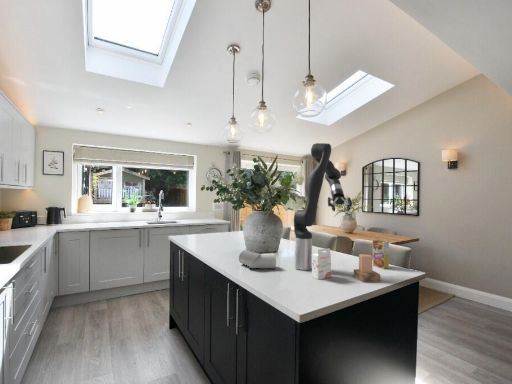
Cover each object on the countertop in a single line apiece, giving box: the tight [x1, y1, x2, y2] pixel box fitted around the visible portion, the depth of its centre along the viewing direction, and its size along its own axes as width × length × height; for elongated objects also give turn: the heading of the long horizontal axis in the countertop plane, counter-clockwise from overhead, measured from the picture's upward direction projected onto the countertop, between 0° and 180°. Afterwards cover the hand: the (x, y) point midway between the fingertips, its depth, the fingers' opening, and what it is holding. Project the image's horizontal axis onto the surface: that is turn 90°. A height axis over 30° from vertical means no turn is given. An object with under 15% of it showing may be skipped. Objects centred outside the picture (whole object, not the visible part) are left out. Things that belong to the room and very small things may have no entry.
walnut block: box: [353, 268, 381, 283], centre depth 131 cm, size 9×9×4 cm
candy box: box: [372, 239, 390, 270], centre depth 154 cm, size 9×4×15 cm, turn 17°
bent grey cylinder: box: [238, 249, 277, 269], centre depth 151 cm, size 18×10×20 cm
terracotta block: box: [358, 253, 373, 273], centre depth 131 cm, size 5×5×8 cm
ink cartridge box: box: [311, 248, 332, 280], centre depth 133 cm, size 9×5×15 cm, turn 117°
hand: (341, 210), depth 159 cm, fingers open, 8 cm apart
